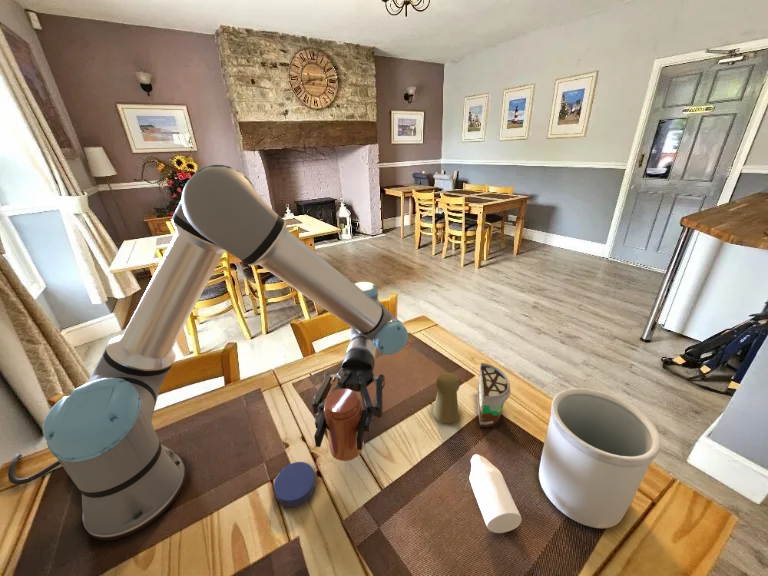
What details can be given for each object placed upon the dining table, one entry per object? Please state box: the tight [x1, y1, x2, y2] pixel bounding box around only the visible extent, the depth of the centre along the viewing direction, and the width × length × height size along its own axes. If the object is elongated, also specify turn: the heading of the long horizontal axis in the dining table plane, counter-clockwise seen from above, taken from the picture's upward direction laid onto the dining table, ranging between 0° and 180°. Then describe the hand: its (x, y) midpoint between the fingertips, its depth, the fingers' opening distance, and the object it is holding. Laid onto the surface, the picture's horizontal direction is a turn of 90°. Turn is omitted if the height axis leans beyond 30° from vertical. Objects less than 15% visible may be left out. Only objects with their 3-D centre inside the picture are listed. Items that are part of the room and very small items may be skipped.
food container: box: [476, 362, 511, 428], centre depth 72 cm, size 12×6×10 cm, turn 168°
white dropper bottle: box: [468, 453, 523, 534], centre depth 56 cm, size 6×12×6 cm, turn 6°
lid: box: [273, 461, 317, 508], centre depth 59 cm, size 8×8×2 cm
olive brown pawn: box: [432, 371, 461, 424], centre depth 72 cm, size 6×6×11 cm
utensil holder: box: [538, 387, 662, 529], centre depth 54 cm, size 15×15×18 cm
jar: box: [324, 389, 365, 462], centre depth 60 cm, size 7×7×12 cm
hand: (338, 442), depth 55 cm, fingers closed on jar, 7 cm apart
